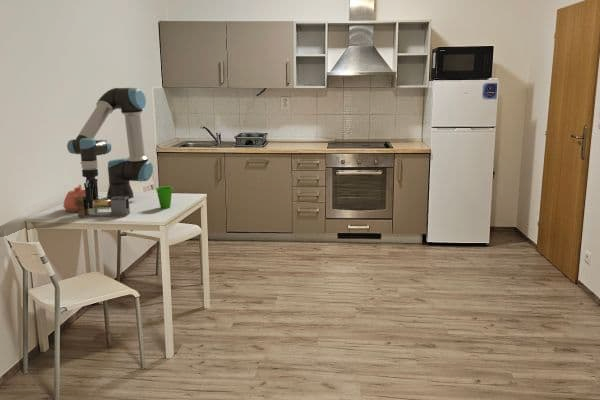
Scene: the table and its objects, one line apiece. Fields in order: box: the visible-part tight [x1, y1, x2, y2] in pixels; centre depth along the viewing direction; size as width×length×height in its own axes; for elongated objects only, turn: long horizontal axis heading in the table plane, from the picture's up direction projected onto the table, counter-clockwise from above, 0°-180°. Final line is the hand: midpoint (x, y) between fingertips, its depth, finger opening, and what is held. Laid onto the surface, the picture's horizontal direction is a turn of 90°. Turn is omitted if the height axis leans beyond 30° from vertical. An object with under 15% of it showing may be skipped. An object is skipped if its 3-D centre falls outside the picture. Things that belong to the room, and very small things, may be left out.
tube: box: [84, 199, 111, 209], centre depth 283 cm, size 5×16×5 cm, turn 92°
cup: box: [155, 186, 174, 210], centre depth 300 cm, size 9×9×11 cm
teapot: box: [63, 184, 86, 213], centre depth 297 cm, size 22×15×12 cm
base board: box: [81, 211, 129, 218], centre depth 284 cm, size 8×24×1 cm, turn 92°
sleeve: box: [109, 196, 131, 217], centre depth 284 cm, size 7×8×9 cm
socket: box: [77, 195, 89, 218], centre depth 283 cm, size 8×3×10 cm, turn 2°
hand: (93, 213), depth 284 cm, fingers closed on tube, 4 cm apart
